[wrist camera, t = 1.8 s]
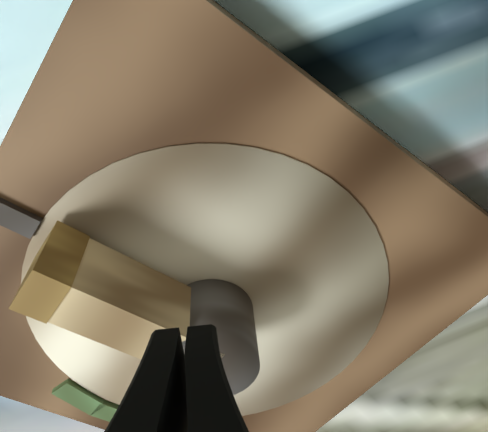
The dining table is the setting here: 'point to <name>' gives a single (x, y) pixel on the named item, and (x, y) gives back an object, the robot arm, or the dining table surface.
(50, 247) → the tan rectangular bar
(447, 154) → the dining table surface
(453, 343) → the dining table surface
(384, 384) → the dining table surface
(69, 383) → the board
